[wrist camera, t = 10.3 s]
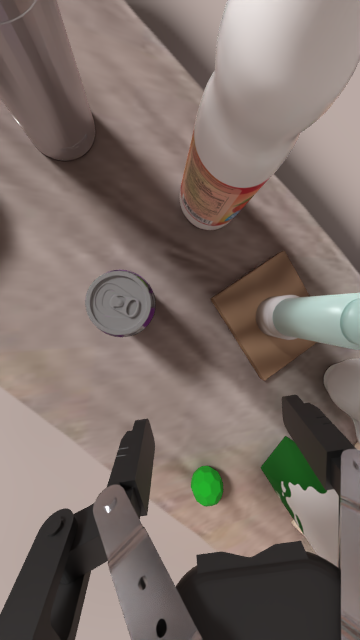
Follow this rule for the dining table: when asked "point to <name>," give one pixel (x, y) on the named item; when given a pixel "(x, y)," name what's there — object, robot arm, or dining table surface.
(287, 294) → the stud base
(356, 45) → the strawberry yogurt bottle
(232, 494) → the dining table surface
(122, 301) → the beverage can
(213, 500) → the polyhedron
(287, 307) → the pale green cylinder
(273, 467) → the milk carton
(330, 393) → the teacup
